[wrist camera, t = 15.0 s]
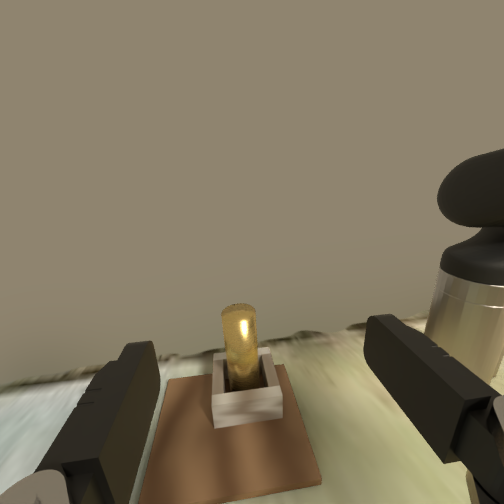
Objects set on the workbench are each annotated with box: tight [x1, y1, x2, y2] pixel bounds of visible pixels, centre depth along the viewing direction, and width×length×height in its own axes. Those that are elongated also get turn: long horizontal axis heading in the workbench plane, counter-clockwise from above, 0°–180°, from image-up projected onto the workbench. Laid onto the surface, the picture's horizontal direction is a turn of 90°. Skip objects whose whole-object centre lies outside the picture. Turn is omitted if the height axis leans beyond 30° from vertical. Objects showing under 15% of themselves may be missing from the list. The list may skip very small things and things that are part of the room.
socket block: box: [138, 347, 322, 504], centre depth 31 cm, size 19×16×5 cm
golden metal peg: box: [221, 303, 260, 392], centre depth 33 cm, size 4×4×14 cm
